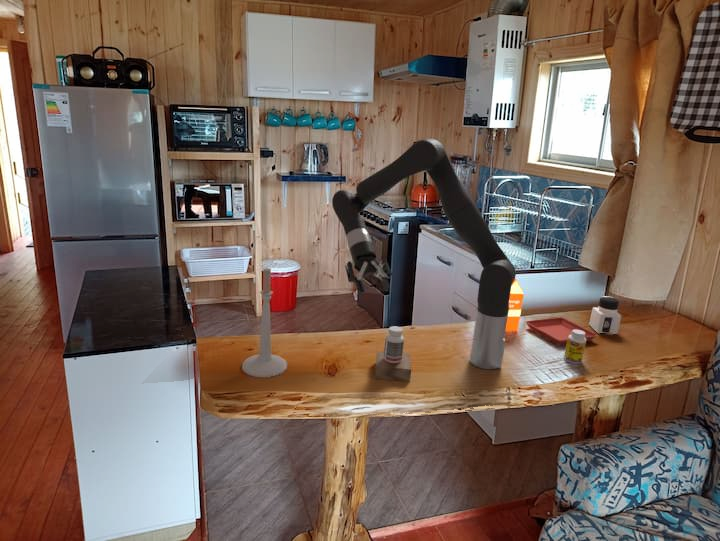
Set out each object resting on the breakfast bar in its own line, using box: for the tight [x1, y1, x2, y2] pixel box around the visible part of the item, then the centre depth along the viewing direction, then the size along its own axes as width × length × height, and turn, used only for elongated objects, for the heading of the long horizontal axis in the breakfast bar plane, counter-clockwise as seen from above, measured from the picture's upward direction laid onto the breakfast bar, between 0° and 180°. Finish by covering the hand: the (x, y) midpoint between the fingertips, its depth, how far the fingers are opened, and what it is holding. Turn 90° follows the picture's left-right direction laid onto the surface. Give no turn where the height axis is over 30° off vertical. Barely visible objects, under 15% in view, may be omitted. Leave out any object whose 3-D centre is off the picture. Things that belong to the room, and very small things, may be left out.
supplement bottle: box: [563, 329, 587, 365], centre depth 171 cm, size 6×6×10 cm
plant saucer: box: [525, 316, 598, 346], centre depth 192 cm, size 18×18×3 cm
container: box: [588, 295, 622, 335], centre depth 198 cm, size 8×8×13 cm
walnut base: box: [374, 350, 412, 383], centre depth 155 cm, size 10×10×4 cm
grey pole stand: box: [241, 267, 288, 378], centre depth 148 cm, size 13×13×30 cm
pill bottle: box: [383, 325, 405, 363], centre depth 153 cm, size 5×5×10 cm
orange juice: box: [505, 278, 525, 332], centre depth 193 cm, size 8×9×20 cm
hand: (375, 291), depth 161 cm, fingers open, 8 cm apart
